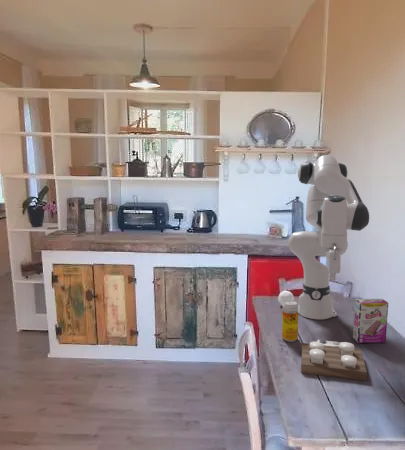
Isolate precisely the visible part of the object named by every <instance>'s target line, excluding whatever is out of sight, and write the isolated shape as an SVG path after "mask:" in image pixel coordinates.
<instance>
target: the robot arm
mask: <svg viewBox="0 0 405 450" xmlns="http://www.w3.org/2000/svg"><path fill="white" fill-rule="evenodd" d="M348 176H349V175H348V169H347V165H345V164H343V163H341V162H338V160H337V159H336V158H335V157H334V156H332V155H330V154H323V155H321V156H319V157H318V158H317V159H316V161H303V162H302V163H301V164H300V165H299V167H298V170H297V178H298V181H299V182H300V184H304V185H311V186H309V189H308V192H307V196H306V207H305V219H306V222H307V223H308V224H309V225H310V226H313V227H315V228H316V229H317V230H318V231H315V230H311V231H309V230H301V231H295V232H292V233H291V235H290V236H289V237H288V241H287V243H288V244H287V245H288V249H289V250H290V251H291V253H293V254H294V255H295V256H296V257H297V258H298V260H299V261H300V262H301V265H302V268H303V284H302V293H300V295H299V296H298V315H300V316H302V317H304V318H306V319H311V320H327V319H330V318H333V317H334V318H335V317H337V316H338V314H337V312H336V310H335V309H334V298H333V297H332V296H331V295H330V293H331V287H330V281H336V276H337V274H340V273H341V256H342V255H344V254H345V253H346V252H347V250H348V248H349V247H348V245H349V242H348V231H347V230H349V231H350V230H351V231H358V232H360V231H362V230H364V229H365V228H366V227H367V226H368V225H369V224H370V223H369V222H370V212H369V209H368V207H367V206H366V204H365V203H364V202H363V200H362V198H361V196H360V194H359V192H358V190H357V188H356V186H355V184H354V183H353V181H352V180H350V179H349V178H348ZM317 256H319V257H320V256H321V257H325V258H326V262H327V263H326V264H327V265H325V264H324V263H322V262H320V261H319V260H317V258H316V257H317Z"/></svg>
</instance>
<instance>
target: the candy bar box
mask: <svg viewBox="0 0 405 450" xmlns="http://www.w3.org/2000/svg"><path fill="white" fill-rule="evenodd" d="M353 312H354V313H353V327H352V328H353V330H352V339H353V340H354V341H355V342H356V343H357V344H382V343H383V344H385V343H386V341H387V326H388V314H389V313H388V312H389V302H388V301H386V300H385V299H383V298H355V299H354V311H353Z"/></svg>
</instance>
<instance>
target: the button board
mask: <svg viewBox="0 0 405 450" xmlns="http://www.w3.org/2000/svg"><path fill="white" fill-rule="evenodd" d="M301 345H302V346H301V361H300V363H301V364H300V373H303V374H309V375H317V376H318V375H319V376H324V377H331V378H340V379H341V378H342V379H348V380H354V381H355V380H356V381H363V382H367V381H368V380H367V378H368V377H367V376H368V371H367V367H366V363H365V360H364V356H363V352H362V349H360V348H354V352H353V357H355V358H356V359H357V365H356V368H351V367H343V366H342V363H341V357H342V356H343V355H341V354H340V349H339V347H335V346H325V345H324V350H323V351H324V353H325V358H324V359H323V364H318V363H311V358H310V343H307V342H306V343H304V342H302V343H301Z"/></svg>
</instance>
